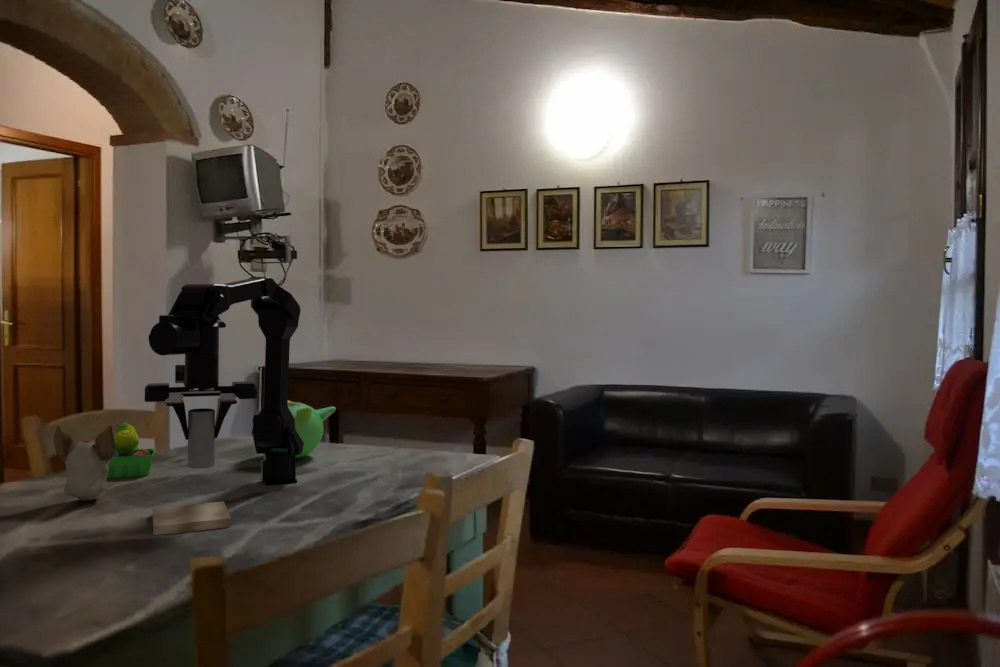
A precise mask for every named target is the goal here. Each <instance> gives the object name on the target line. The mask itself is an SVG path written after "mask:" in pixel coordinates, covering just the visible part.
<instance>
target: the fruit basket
mask: <svg viewBox="0 0 1000 667" xmlns="http://www.w3.org/2000/svg"><path fill="white" fill-rule="evenodd" d="M113 436H114V440H115V445H116V447H115V454H114V455H113V457H112V458H111V459H110V460H109V468H108V473H107V477H106V479H114V478H115V479H116V478H131V477H146V476H147V477H148V476H149V475H150V471H151V467H152V466H151V465H152V463H153V459H154V457H155V451H156V449H155V448H139V447H138V445H139V441H140V438H139V435H138V434H137V430H136V428H135V427H134V426H133V425H132V424H130V423H127V422H124V423H121V424H120V425H118V427H117V429H116V432H115V433H114V434H113Z"/></svg>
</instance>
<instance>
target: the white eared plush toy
mask: <svg viewBox="0 0 1000 667" xmlns="http://www.w3.org/2000/svg"><path fill="white" fill-rule="evenodd" d="M53 438H54V439H53V447H54V450H55V453H56V456H57V457H58V458H59V460H60V461H61V462H63V463H64V464H65V471H66V474H67V476H66V477H67V479H66V484H65V486H64V489H63V492H64V494H65V495H67V496H70V497H73V498H76V499H77V500H79V501H83V502H85V501H90V502H91V501H93V500H95V499H98V498H99V497H100V496H101V495H102V494H103V493H104V492H106V491H107V490H109V485H108V483H107V478H106V477H107V473H108V468H109V460H110V459H111V458H112V457H113V455H114V454H115V447H116V445H115V440H114V433H113V424H109V425H108V426H107V427H106V428H105V429H104V430H103V431H102V432H101V433H99V434H97V436H96V437H95V440H93V439H87V440H80V441H78V442H75V440H74V437H72V436H71V435H70V434H68V433H67V432H66V431H64V430H63V429H62V428H61V426H60V425H57V426H56V430H55V433H54V437H53Z"/></svg>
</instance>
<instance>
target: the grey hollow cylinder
mask: <svg viewBox="0 0 1000 667" xmlns="http://www.w3.org/2000/svg"><path fill="white" fill-rule="evenodd" d="M215 421H216V410H215V409H214V408H205V407H204V408H192V409H188V410H187V426H188V440H187V468H190V469H207V468H212V467H215V461H216V458H215V455H216V454H215V452H216V451H215V450H216V448H215V447H216V445H215V442H216V441H215V440H216V438H215Z"/></svg>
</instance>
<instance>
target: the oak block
mask: <svg viewBox="0 0 1000 667" xmlns="http://www.w3.org/2000/svg"><path fill="white" fill-rule="evenodd" d="M151 510H152V529H153V530H152V531H153V536H158V535H166V534H167V535H168V534H178V533H186V532H195V531H196V532H197V531H203V530H204V531H205V530H212V529H223V528H231V527H232V516H231V514H230V513H229V509H228V508H227V505H226V503H225V501H214V502H205V503H202V502H201V503H195V504H194V503H193V504H184V505H183V504H181V505H174V506H163V507H155V508H152V509H151Z"/></svg>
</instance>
